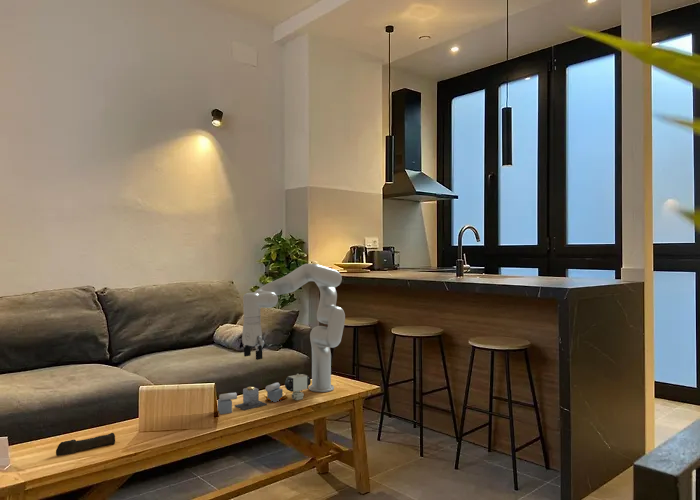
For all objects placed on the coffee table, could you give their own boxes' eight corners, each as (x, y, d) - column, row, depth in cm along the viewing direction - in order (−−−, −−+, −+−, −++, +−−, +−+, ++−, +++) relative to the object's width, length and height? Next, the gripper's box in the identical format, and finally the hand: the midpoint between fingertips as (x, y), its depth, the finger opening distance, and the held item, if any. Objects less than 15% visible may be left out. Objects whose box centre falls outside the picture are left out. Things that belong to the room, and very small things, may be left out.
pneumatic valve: (310, 398, 250) (310, 372, 249) (289, 402, 242) (289, 376, 242) (304, 395, 254) (304, 370, 254) (283, 399, 247) (283, 374, 247)
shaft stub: (234, 408, 234) (234, 391, 234) (237, 411, 229) (237, 393, 229) (217, 411, 230) (217, 393, 230) (220, 414, 226) (220, 396, 226)
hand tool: (113, 441, 195) (112, 429, 195) (115, 445, 191) (115, 432, 191) (54, 454, 183) (54, 441, 183) (56, 458, 180) (56, 444, 180)
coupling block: (252, 402, 242) (252, 385, 241) (258, 404, 238) (258, 387, 238) (243, 404, 238) (243, 387, 238) (249, 406, 234) (249, 389, 234)
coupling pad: (257, 401, 245) (257, 399, 245) (267, 405, 239) (267, 403, 239) (234, 406, 237) (234, 405, 237) (243, 410, 231) (243, 409, 231)
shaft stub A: (274, 397, 250) (274, 381, 250) (282, 399, 247) (282, 382, 247) (263, 401, 244) (263, 385, 244) (271, 403, 241) (271, 386, 241)
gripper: (235, 319, 243) (236, 356, 243) (255, 323, 230) (256, 362, 231) (249, 317, 248) (250, 353, 248) (270, 320, 235) (270, 359, 236)
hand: (253, 357), depth 239 cm, fingers open, 9 cm apart
